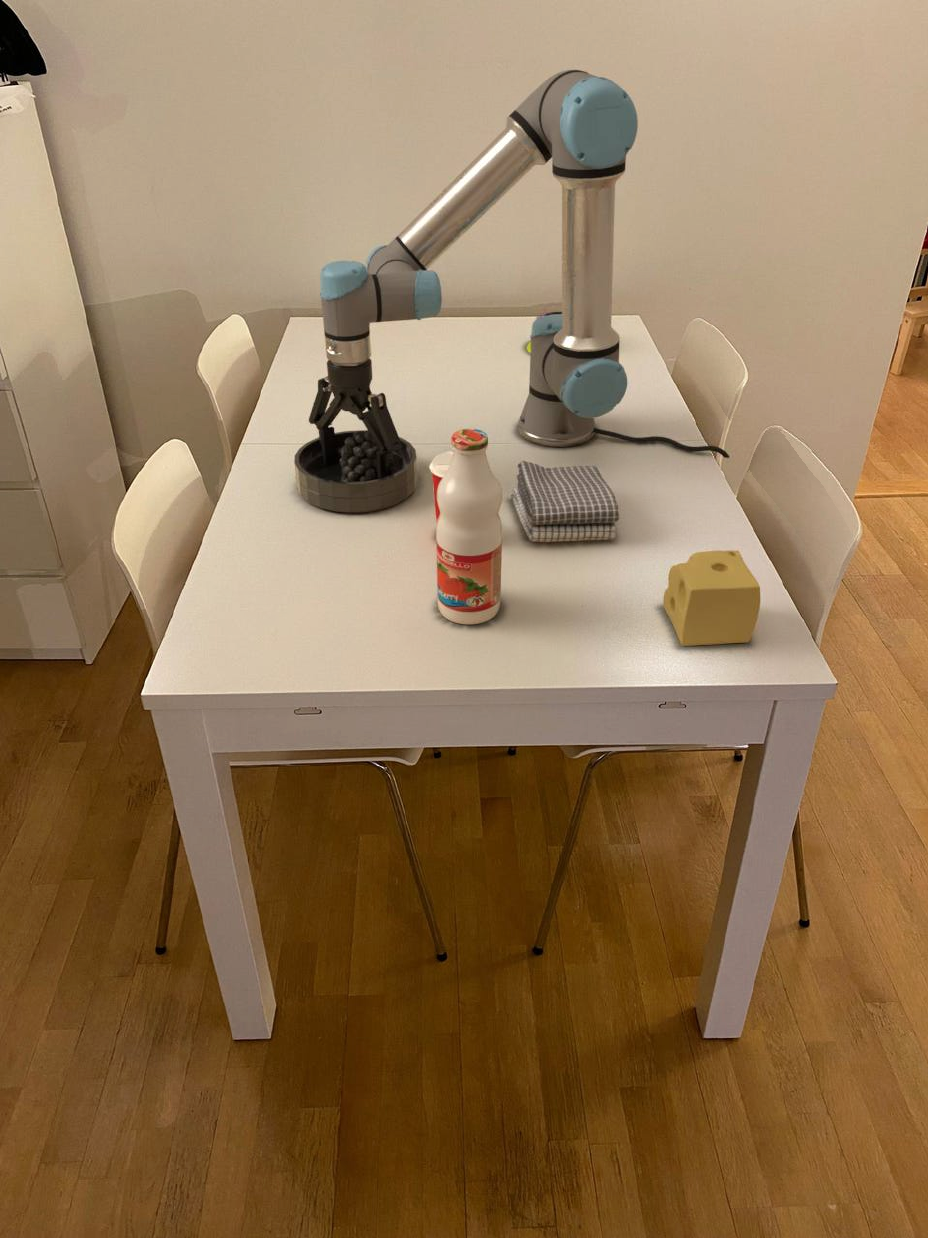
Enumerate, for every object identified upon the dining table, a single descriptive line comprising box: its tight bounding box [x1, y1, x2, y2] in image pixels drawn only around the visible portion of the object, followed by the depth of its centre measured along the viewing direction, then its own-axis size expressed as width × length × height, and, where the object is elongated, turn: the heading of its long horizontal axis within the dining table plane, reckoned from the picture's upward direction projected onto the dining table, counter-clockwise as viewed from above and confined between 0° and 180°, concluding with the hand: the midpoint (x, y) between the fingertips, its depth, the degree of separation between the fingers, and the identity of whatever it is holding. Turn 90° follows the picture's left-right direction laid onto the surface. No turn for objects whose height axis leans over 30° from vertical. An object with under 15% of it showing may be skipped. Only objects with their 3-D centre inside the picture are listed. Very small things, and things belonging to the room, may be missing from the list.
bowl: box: [294, 429, 418, 514], centre depth 179 cm, size 22×22×6 cm
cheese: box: [662, 550, 761, 647], centre depth 142 cm, size 10×11×10 cm
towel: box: [510, 460, 620, 543], centre depth 168 cm, size 15×18×8 cm
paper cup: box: [428, 450, 454, 524], centre depth 162 cm, size 8×8×14 cm
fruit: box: [339, 429, 380, 482], centre depth 178 cm, size 9×8×15 cm
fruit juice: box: [435, 428, 503, 625], centre depth 141 cm, size 9×9×28 cm
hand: (357, 472), depth 179 cm, fingers open, 13 cm apart
